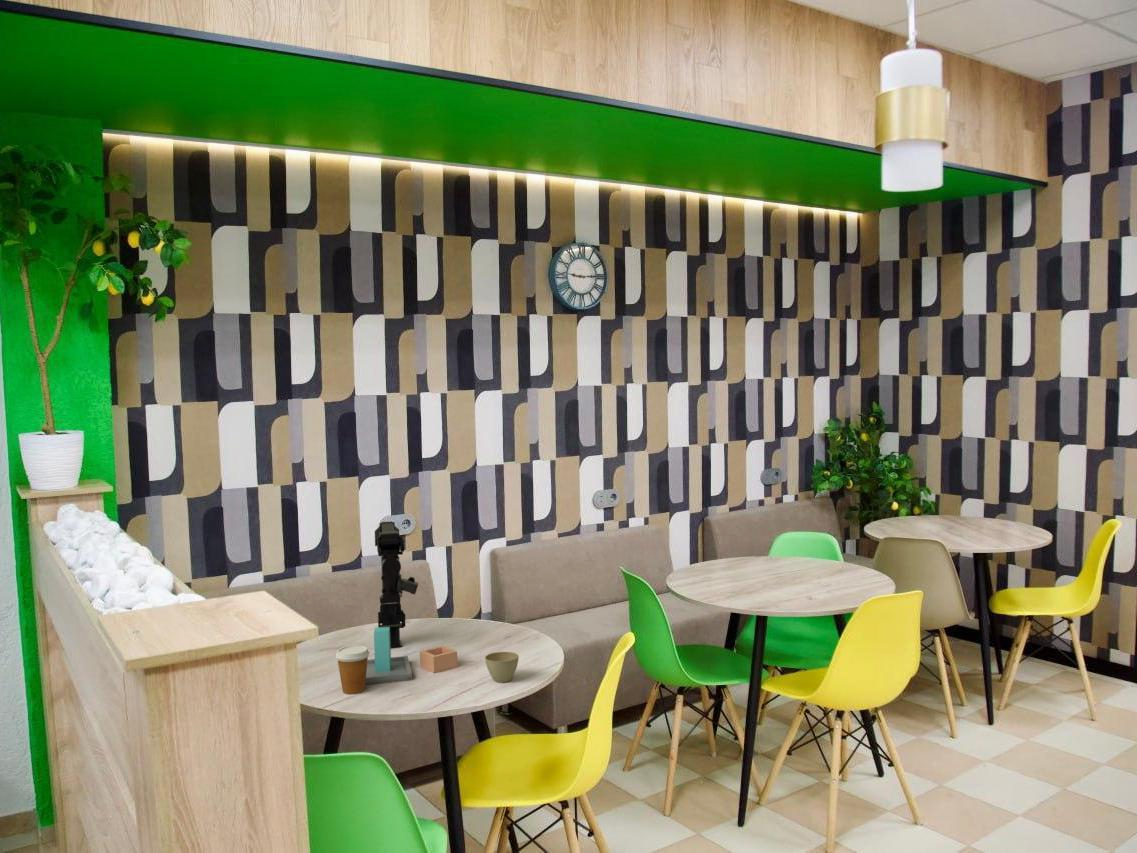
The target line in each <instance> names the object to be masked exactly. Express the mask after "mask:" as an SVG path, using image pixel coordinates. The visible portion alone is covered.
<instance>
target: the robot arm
mask: <svg viewBox="0 0 1137 853" xmlns="http://www.w3.org/2000/svg"><path fill="white" fill-rule="evenodd" d="M404 541H405V540H404V537H403V536H402V535H400V529H399V528H398V527H397V526H396V524H395V522H394V521H381V522H379V526H378V527H377V528H376V529H375V530H374V545H375V547H376V549H377V556H378V557H380V562H381V563H380V565H381V577H380V578H381V595H380V596H379V604H380V605H379V611H377V624H378V626H377V628H379V627H390V648H391V649H394V648H395V649H396V648H402V647H403V646H402V645H403V644H402V641H401V633H400V632H401V631H400V630H401V629H404V628H405V627H406V613H405V612H404V609H402V604H401V600H402V599H401V598H402V597H403V592H407V593H410V594H411V595H416V592H417V590H418V586H419V583H418V581H416V580H415V577H412V576H410V577H409V578H408V579H407V578H402V574H401V569H402V566H401V565H402V563H401V561H400V555H401V556H403V555H404V554H403V552H405V542H404Z"/></svg>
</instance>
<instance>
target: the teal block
mask: <svg viewBox="0 0 1137 853" xmlns="http://www.w3.org/2000/svg"><path fill="white" fill-rule="evenodd" d="M373 641H374V642H373V646H374V659H375V672H385V671H390V669H391V657H392V652H391V649H392V648H390V627H379V628H378V627H374V631H373Z"/></svg>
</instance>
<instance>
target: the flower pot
mask: <svg viewBox="0 0 1137 853" xmlns="http://www.w3.org/2000/svg"><path fill="white" fill-rule="evenodd" d="M484 660H485V665H486V668H487V671H488V673H489V675H490V676H491V679H492V680H493V681H494V682H495V683H508V682H510V681H512V679H513V677H514V675H515V673H516V671H517V667H518V663H519V654H518V653H516V652H512V651H496V652H491V653H488V654H486V655H485V656H484Z"/></svg>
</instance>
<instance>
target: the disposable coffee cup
mask: <svg viewBox="0 0 1137 853" xmlns="http://www.w3.org/2000/svg"><path fill="white" fill-rule="evenodd" d="M369 655H370V651H369V649H368V647H367V646H366V645H365V646H364V645H347V646H342V647H340V648H338V649H337V651H336V654H335V658H336V660H337V665H338V672H339V676H340V682H341V689H342V693H343V694H346V695H357V694H360V693H363V692H365V690H366V685H365V683H366V671H367V660H369V659H368V658H369Z"/></svg>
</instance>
